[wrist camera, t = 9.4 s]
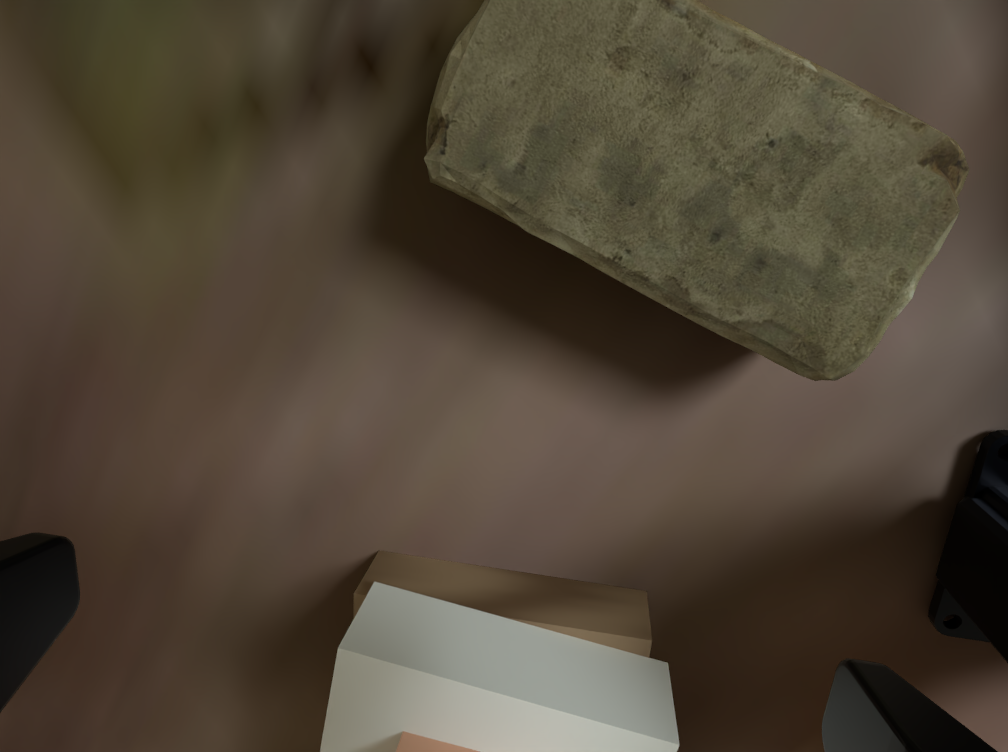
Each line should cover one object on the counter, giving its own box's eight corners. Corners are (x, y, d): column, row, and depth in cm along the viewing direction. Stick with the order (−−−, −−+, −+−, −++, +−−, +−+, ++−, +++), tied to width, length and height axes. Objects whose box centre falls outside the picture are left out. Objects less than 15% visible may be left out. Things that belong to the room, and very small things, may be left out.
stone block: (793, 352, 19) (854, 409, 15) (434, 172, 19) (379, 170, 15) (918, 160, 18) (1035, 154, 13) (522, -38, 18) (492, -118, 13)
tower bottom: (645, 581, 22) (652, 640, 20) (610, 789, 25) (611, 868, 22) (383, 542, 23) (354, 593, 21) (376, 747, 26) (349, 817, 23)
